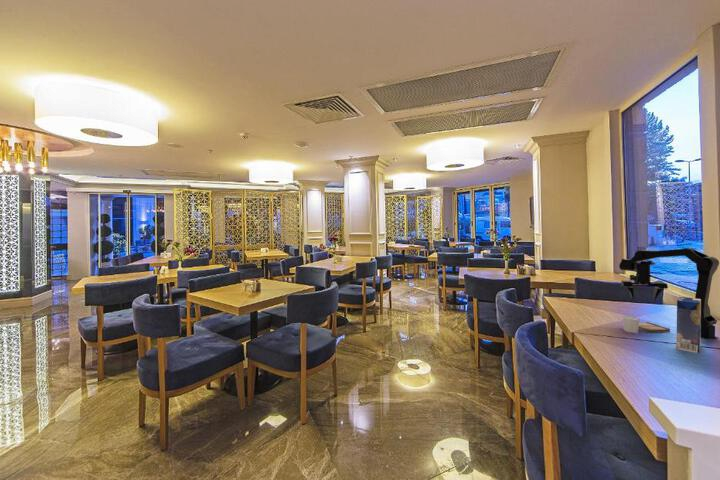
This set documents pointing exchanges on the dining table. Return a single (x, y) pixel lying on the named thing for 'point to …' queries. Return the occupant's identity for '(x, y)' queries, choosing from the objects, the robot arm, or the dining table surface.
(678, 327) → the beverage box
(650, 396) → the dining table surface
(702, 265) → the robot arm
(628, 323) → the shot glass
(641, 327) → the serving board
